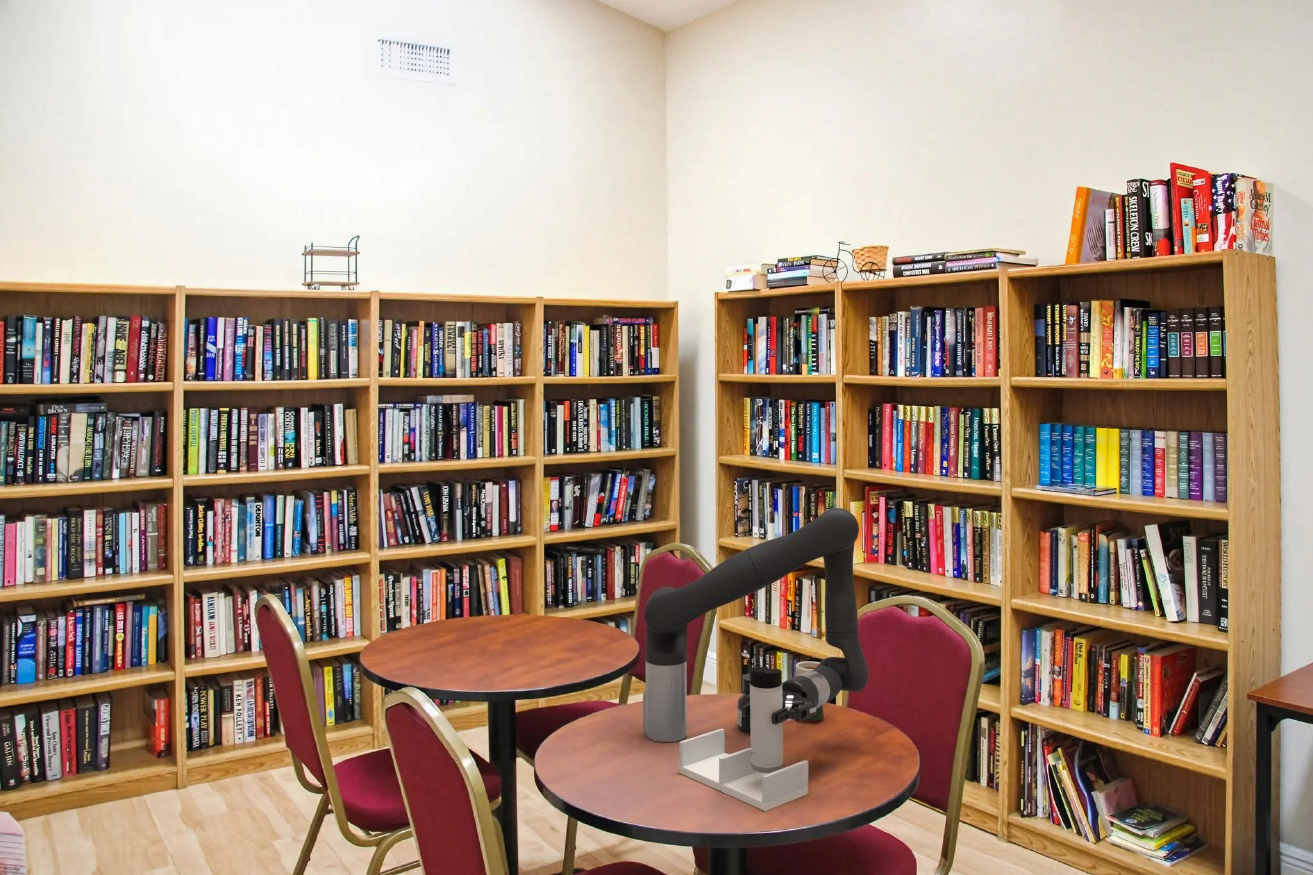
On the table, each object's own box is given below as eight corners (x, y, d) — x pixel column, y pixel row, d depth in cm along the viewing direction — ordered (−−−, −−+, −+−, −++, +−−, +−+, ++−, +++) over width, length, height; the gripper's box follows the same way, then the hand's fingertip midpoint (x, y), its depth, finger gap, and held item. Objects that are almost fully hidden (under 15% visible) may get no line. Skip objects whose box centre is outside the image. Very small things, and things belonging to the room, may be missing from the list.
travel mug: (744, 770, 197) (743, 669, 195) (759, 758, 202) (758, 660, 201) (774, 776, 194) (772, 674, 192) (788, 764, 199) (787, 664, 198)
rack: (679, 772, 208) (679, 741, 207) (721, 758, 216) (721, 728, 215) (765, 811, 190) (765, 777, 189) (807, 793, 197) (808, 761, 197)
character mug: (836, 724, 237) (836, 669, 236) (810, 728, 234) (811, 673, 233) (810, 710, 246) (810, 657, 246) (785, 714, 243) (785, 661, 243)
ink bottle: (750, 718, 240) (751, 668, 240) (783, 726, 235) (784, 675, 235) (729, 730, 233) (729, 678, 232) (762, 738, 227) (763, 685, 227)
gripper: (774, 669, 212) (727, 689, 199) (835, 681, 203) (790, 704, 190) (774, 704, 213) (727, 726, 200) (835, 718, 204) (790, 743, 191)
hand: (758, 715), depth 195 cm, fingers closed on travel mug, 6 cm apart
